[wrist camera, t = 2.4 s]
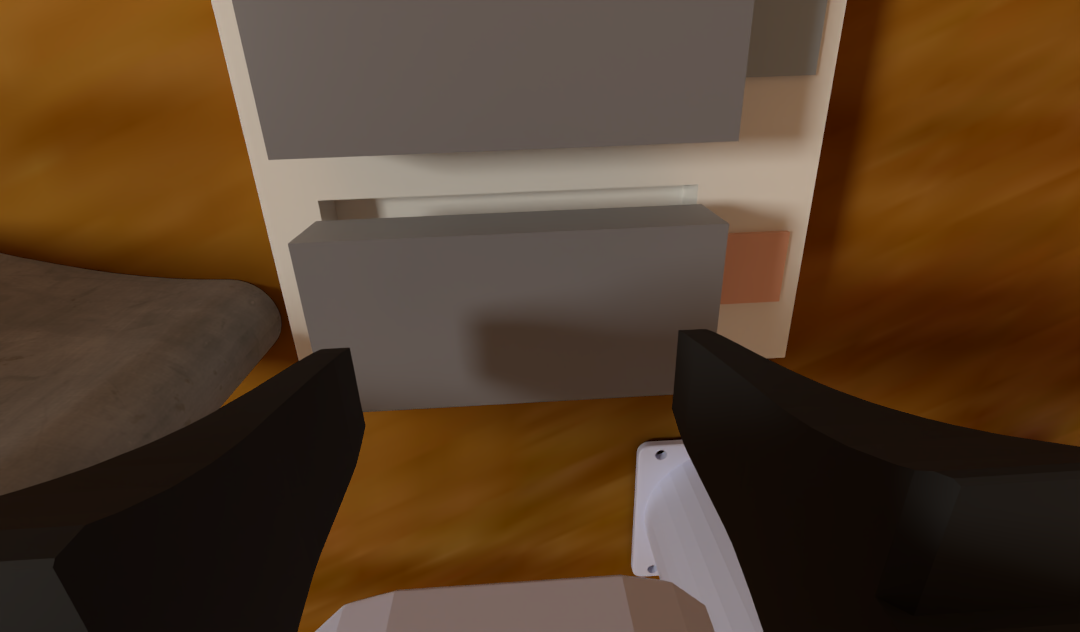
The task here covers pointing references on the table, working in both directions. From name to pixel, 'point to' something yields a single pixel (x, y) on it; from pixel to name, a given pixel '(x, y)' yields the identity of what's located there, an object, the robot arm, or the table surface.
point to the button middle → (492, 74)
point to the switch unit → (600, 174)
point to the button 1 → (511, 301)
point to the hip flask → (114, 361)
